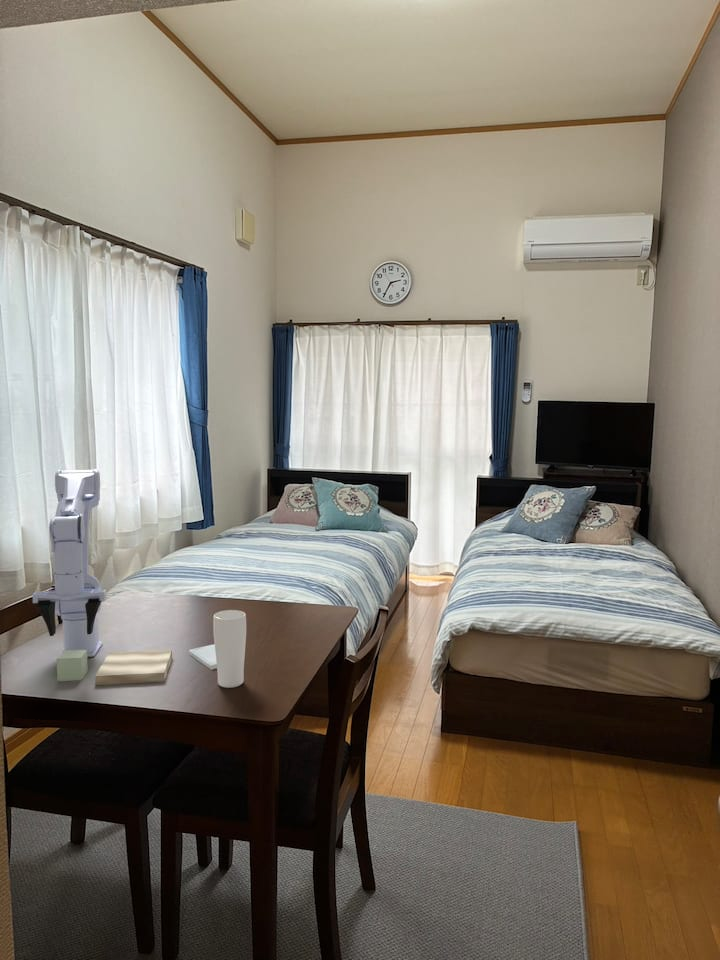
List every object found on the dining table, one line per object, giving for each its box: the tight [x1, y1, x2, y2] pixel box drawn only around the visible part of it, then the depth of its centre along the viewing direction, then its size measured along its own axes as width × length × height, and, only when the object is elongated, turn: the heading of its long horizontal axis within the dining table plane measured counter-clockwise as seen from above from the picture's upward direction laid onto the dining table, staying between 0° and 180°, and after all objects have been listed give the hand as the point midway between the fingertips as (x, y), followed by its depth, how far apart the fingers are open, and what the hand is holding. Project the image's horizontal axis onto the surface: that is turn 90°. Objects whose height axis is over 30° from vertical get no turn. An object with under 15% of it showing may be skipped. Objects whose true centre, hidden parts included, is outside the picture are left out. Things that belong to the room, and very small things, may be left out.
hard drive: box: [188, 644, 217, 671], centre depth 162 cm, size 2×8×12 cm
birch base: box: [94, 649, 173, 686], centre depth 154 cm, size 14×14×2 cm
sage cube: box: [56, 650, 89, 682], centre depth 151 cm, size 5×5×5 cm
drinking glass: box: [212, 609, 247, 689], centre depth 146 cm, size 7×7×15 cm
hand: (71, 633), depth 150 cm, fingers open, 7 cm apart
